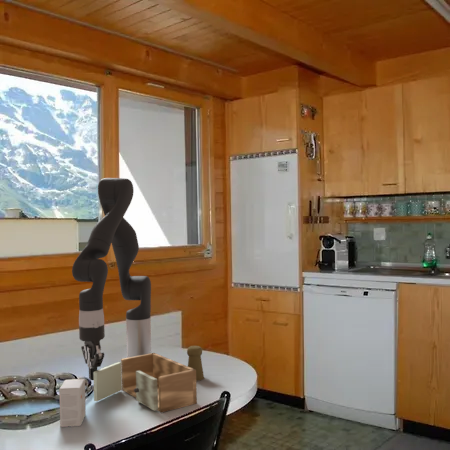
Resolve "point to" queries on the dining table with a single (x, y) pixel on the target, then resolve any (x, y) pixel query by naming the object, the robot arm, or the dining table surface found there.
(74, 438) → the dining table surface
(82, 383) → the small box
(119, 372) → the door
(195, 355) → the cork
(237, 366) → the dining table surface
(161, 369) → the cabinet
